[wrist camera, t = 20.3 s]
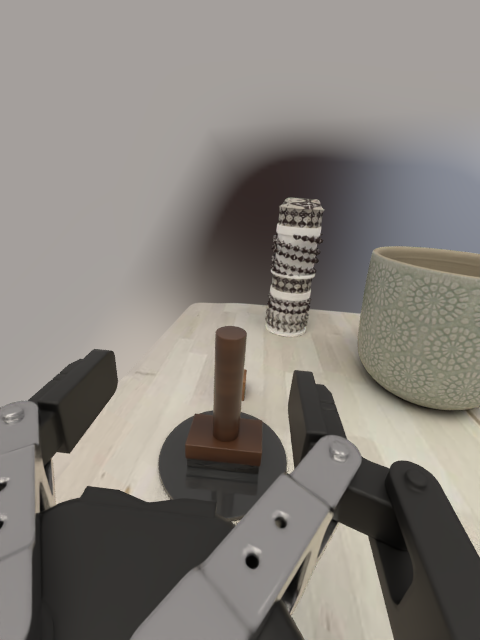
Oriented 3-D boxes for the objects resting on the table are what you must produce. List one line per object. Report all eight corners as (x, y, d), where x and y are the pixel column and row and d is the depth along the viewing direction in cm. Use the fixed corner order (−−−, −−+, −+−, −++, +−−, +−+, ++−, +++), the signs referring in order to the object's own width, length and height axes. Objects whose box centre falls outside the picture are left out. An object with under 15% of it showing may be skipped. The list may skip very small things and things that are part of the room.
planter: (532, 409, 40) (611, 277, 32) (441, 457, 31) (519, 292, 24) (400, 342, 57) (432, 245, 49) (318, 361, 48) (340, 247, 41)
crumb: (243, 401, 38) (245, 382, 37) (221, 398, 38) (222, 380, 37) (245, 387, 41) (246, 369, 40) (224, 385, 41) (225, 367, 40)
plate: (149, 529, 23) (149, 525, 23) (165, 415, 35) (165, 412, 35) (303, 514, 25) (304, 510, 25) (270, 410, 37) (270, 407, 36)
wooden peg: (259, 475, 28) (275, 348, 22) (185, 467, 28) (182, 340, 22) (259, 441, 31) (273, 325, 26) (195, 434, 32) (194, 318, 26)
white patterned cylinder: (313, 325, 62) (335, 200, 52) (298, 342, 54) (321, 199, 44) (274, 315, 66) (288, 197, 56) (256, 329, 58) (268, 196, 48)
